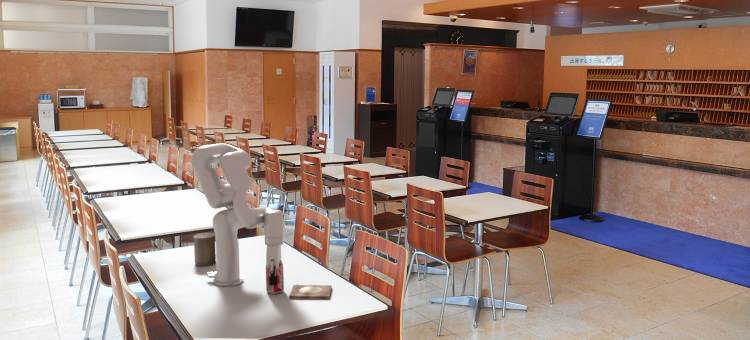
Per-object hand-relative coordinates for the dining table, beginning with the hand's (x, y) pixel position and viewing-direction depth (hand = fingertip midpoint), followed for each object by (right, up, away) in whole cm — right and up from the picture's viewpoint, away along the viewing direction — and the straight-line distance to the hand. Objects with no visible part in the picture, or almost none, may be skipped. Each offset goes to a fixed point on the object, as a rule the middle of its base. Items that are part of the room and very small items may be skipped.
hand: (275, 281), depth 264 cm
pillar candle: (-39, +2, +39) cm, 55 cm away
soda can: (0, -5, +1) cm, 5 cm away
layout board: (+15, -5, -1) cm, 16 cm away
